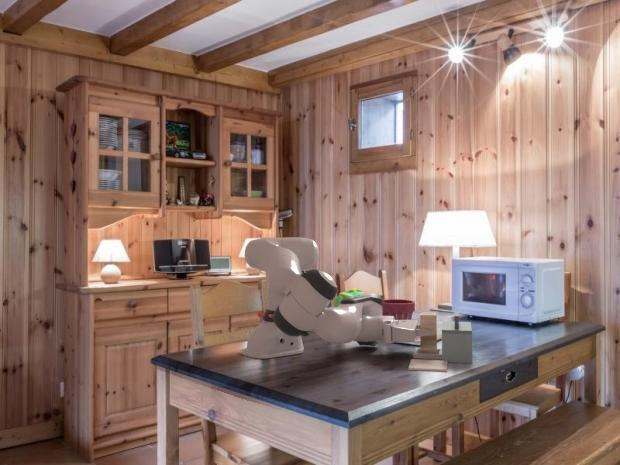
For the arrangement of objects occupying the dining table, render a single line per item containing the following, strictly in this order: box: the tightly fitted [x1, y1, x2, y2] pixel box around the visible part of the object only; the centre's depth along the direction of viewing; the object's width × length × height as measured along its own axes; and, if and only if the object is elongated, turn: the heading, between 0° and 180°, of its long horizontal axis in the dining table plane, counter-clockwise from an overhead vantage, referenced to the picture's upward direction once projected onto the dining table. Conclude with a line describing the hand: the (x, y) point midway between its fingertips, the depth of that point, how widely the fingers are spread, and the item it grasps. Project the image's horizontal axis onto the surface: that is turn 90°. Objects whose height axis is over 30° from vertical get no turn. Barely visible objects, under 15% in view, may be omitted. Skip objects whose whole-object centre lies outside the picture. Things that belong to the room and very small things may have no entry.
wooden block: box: [419, 312, 438, 354], centre depth 184 cm, size 5×5×13 cm
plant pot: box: [382, 298, 416, 320], centre depth 222 cm, size 14×14×13 cm
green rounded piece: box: [333, 287, 367, 307], centre depth 253 cm, size 18×17×15 cm
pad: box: [408, 358, 448, 373], centre depth 170 cm, size 11×11×1 cm
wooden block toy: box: [413, 310, 473, 364], centre depth 182 cm, size 16×18×14 cm
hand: (431, 330), depth 183 cm, fingers closed on wooden block, 5 cm apart
